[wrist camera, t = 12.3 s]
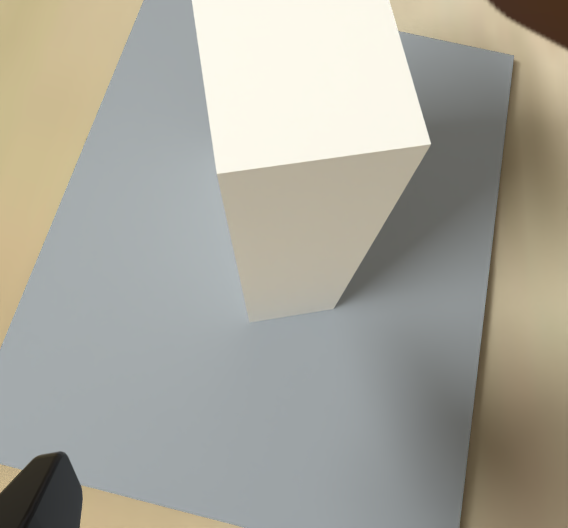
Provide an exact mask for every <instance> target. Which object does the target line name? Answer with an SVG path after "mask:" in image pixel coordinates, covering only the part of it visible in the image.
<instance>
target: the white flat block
mask: <svg viewBox="0 0 568 528" xmlns="http://www.w3.org/2000/svg"><path fill="white" fill-rule="evenodd" d="M192 5H193V12H194V19H195V26H196V33H197V40H198V47H199V54H200V61H201V68H202V75H203V82H204V89H205V96H206V103H207V110H208V117H209V124H210V131H211V138H212V145H213V151H214V158H215V165H216V172H217V177H218V182H219V187H220V191H221V196H222V200H223V205H224V209H225V214H226V218H227V223H228V227H229V232H230V236H231V241H232V245H233V250H234V254H235V259H236V264H237V268H238V273H239V277H240V282H241V286H242V291H243V295H244V300H245V304H246V309H247V313H248V318H249V322H257V321H263V320H269V319H275V318H281V317H287V316H293V315H300V314H306V313H312V312H318V311H324V310H330V309H334V307H335V306H336V304H337V302H338V301H339V299H340V297H341V295H342V294H343V292H344V290H345V289H346V287H347V285H348V284H349V282H350V280H351V279H352V277H353V275H354V274H355V272H356V270H357V268H358V267H359V265H360V263H361V262H362V260H363V258H364V257H365V255H366V253H367V252H368V250H369V248H370V247H371V245H372V243H373V241H374V240H375V238H376V236H377V235H378V233H379V231H380V230H381V228H382V226H383V225H384V223H385V221H386V220H387V218H388V216H389V214H390V213H391V211H392V209H393V208H394V206H395V204H396V203H397V201H398V199H399V198H400V196H401V194H402V193H403V191H404V189H405V187H406V186H407V184H408V182H409V181H410V179H411V177H412V176H413V174H414V172H415V171H416V169H417V167H418V166H419V164H420V162H421V161H422V159H423V157H424V155H425V154H426V152H427V150H428V149H429V147H430V145H431V142H430V139H429V135H428V132H427V128H426V125H425V121H424V118H423V115H422V111H421V108H420V104H419V101H418V97H417V94H416V91H415V87H414V84H413V80H412V77H411V73H410V70H409V67H408V63H407V60H406V56H405V53H404V49H403V46H402V43H401V39H400V36H399V32H398V29H397V25H396V22H395V19H394V15H393V12H392V8H391V5H390V1H389V0H192Z"/></svg>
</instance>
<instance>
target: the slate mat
mask: <svg viewBox="0 0 568 528" xmlns="http://www.w3.org/2000/svg"><path fill="white" fill-rule="evenodd" d="M398 32H399V36H400V39H401V43H402V46H403V49H404V53H405V56H406V60H407V63H408V67H409V70H410V73H411V77H412V80H413V84H414V87H415V91H416V94H417V97H418V101H419V104H420V108H421V111H422V115H423V118H424V121H425V125H426V128H427V132H428V135H429V139H430V142H431V145H430V147H429V149H428V150H427V152H426V154H425V155H424V157H423V159H422V161H421V162H420V164H419V166H418V167H417V169H416V171H415V172H414V174H413V176H412V177H411V179H410V181H409V182H408V184H407V186H406V187H405V189H404V191H403V193H402V194H401V196H400V198H399V199H398V201H397V203H396V204H395V206H394V208H393V209H392V211H391V213H390V214H389V216H388V218H387V220H386V221H385V223H384V225H383V226H382V228H381V230H380V231H379V233H378V235H377V236H376V238H375V240H374V241H373V243H372V245H371V247H370V248H369V250H368V252H367V253H366V255H365V257H364V258H363V260H362V262H361V263H360V265H359V267H358V268H357V270H356V272H355V274H354V275H353V277H352V279H351V280H350V282H349V284H348V285H347V287H346V289H345V290H344V292H343V294H342V295H341V297H340V299H339V301H338V302H337V304H336V306H335V307H334V309H330V310H324V311H318V312H312V313H306V314H300V315H293V316H287V317H281V318H275V319H269V320H263V321H257V322H249V318H248V313H247V309H246V304H245V300H244V295H243V291H242V286H241V282H240V277H239V273H238V268H237V264H236V259H235V254H234V250H233V245H232V241H231V236H230V232H229V227H228V223H227V218H226V214H225V209H224V205H223V200H222V196H221V191H220V187H219V182H218V177H217V172H216V165H215V158H214V151H213V145H212V138H211V131H210V124H209V117H208V110H207V103H206V96H205V89H204V82H203V75H202V68H201V61H200V54H199V47H198V40H197V33H196V26H195V19H194V12H193V5H192V0H144V1H143V3H142V6H141V8H140V11H139V13H138V16H137V18H136V20H135V23H134V25H133V28H132V30H131V33H130V35H129V37H128V40H127V42H126V45H125V47H124V50H123V52H122V54H121V57H120V59H119V62H118V64H117V67H116V69H115V71H114V74H113V76H112V79H111V81H110V84H109V86H108V88H107V91H106V93H105V96H104V98H103V101H102V103H101V105H100V108H99V110H98V113H97V115H96V118H95V120H94V123H93V125H92V127H91V130H90V132H89V135H88V137H87V140H86V142H85V144H84V147H83V149H82V152H81V154H80V157H79V159H78V161H77V164H76V166H75V169H74V171H73V174H72V176H71V178H70V181H69V183H68V186H67V188H66V191H65V193H64V195H63V198H62V200H61V203H60V205H59V208H58V210H57V212H56V215H55V217H54V220H53V222H52V225H51V227H50V230H49V232H48V234H47V237H46V239H45V242H44V244H43V247H42V249H41V251H40V254H39V256H38V259H37V261H36V264H35V266H34V268H33V271H32V273H31V276H30V278H29V281H28V283H27V285H26V288H25V290H24V293H23V295H22V298H21V300H20V302H19V305H18V307H17V310H16V312H15V315H14V317H13V319H12V322H11V324H10V327H9V329H8V332H7V334H6V337H5V339H4V341H3V344H2V346H1V349H0V464H2V465H6V466H10V467H14V468H18V469H22V470H23V469H24V468H25V467H26V465H27V464H28V463H29V462H30V461H31V460H32V459H33V458H35V457H36V456H38V455H41V454H47V453H53V452H58V451H62V452H65V453H66V454H67V455H68V457H69V459H70V462H71V464H72V466H73V468H74V471H75V473H76V475H77V478H78V480H79V482H80V485H83V486H87V487H91V488H95V489H98V490H102V491H106V492H110V493H114V494H118V495H121V496H125V497H129V498H133V499H137V500H141V501H144V502H148V503H152V504H156V505H160V506H164V507H168V508H171V509H175V510H179V511H183V512H187V513H191V514H194V515H198V516H202V517H206V518H210V519H214V520H217V521H221V522H225V523H229V524H233V525H237V526H240V527H244V528H459V527H460V518H461V509H462V501H463V492H464V483H465V475H466V466H467V458H468V449H469V440H470V432H471V423H472V414H473V406H474V397H475V389H476V380H477V371H478V363H479V354H480V345H481V337H482V328H483V319H484V311H485V302H486V294H487V285H488V276H489V268H490V259H491V250H492V242H493V233H494V225H495V216H496V207H497V199H498V190H499V181H500V173H501V164H502V155H503V147H504V138H505V130H506V121H507V112H508V104H509V95H510V86H511V78H512V69H513V61H514V56H513V55H509V54H504V53H499V52H494V51H490V50H485V49H480V48H476V47H471V46H466V45H461V44H457V43H452V42H447V41H443V40H438V39H433V38H428V37H424V36H419V35H414V34H410V33H405V32H400V31H398Z"/></svg>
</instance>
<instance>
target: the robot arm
mask: <svg viewBox="0 0 568 528" xmlns="http://www.w3.org/2000/svg"><path fill="white" fill-rule="evenodd" d="M82 500H83V498H82V488H81V485H80V482H79V480H78V478H77V475H76V473H75V471H74V468H73V466H72V464H71V462H70V459H69V457H68V455H67V454H66V453H65V452H62V451H58V452H53V453H47V454H41V455H38V456H36V457H35V458H33V459H32V460H31V461H30V462H29V463H28V464H27V465H26V467H25V468H24V469H23V470H22V471H21V472H20V473H19V474H18V475H17V476H16V477H15V478H14V479H13V480H12V481H11V482H10V483H9V485H8V486H7V487H6V488H5V489H4V490H3V491H2V492H1V493H0V528H80V519H81V510H82Z"/></svg>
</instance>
